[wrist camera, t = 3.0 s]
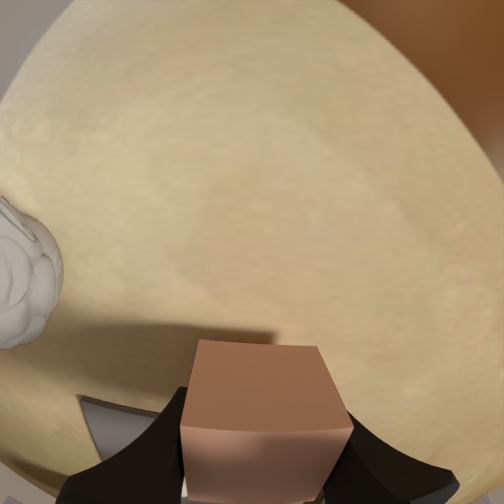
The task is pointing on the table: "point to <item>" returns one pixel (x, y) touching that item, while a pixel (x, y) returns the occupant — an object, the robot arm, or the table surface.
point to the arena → (121, 430)
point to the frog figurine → (26, 276)
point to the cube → (260, 424)
